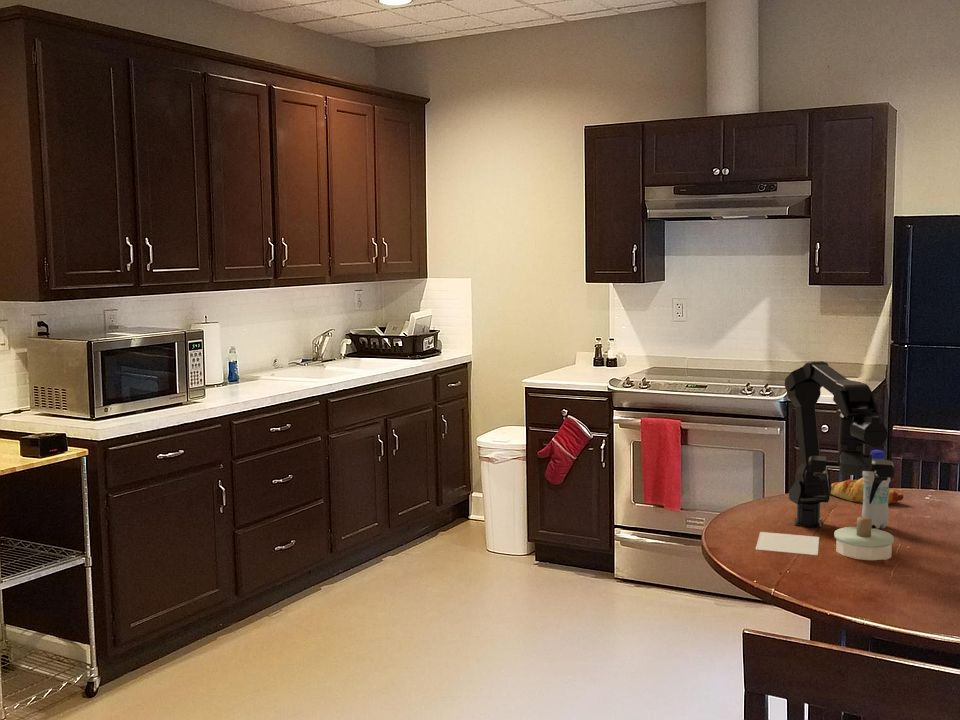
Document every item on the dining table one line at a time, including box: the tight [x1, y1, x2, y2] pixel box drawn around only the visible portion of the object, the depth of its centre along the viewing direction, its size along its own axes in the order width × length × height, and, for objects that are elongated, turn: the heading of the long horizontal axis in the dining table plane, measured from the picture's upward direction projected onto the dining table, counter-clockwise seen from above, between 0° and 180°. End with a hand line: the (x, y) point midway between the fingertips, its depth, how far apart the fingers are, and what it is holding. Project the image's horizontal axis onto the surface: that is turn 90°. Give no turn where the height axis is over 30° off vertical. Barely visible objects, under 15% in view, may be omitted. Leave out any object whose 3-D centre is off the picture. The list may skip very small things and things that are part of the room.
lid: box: [834, 516, 895, 547], centre depth 229 cm, size 13×13×5 cm
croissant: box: [830, 477, 904, 505], centre depth 274 cm, size 21×10×8 cm, turn 53°
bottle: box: [861, 449, 891, 530], centre depth 248 cm, size 7×7×20 cm
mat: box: [755, 531, 820, 556], centre depth 237 cm, size 14×14×1 cm
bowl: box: [835, 539, 893, 561], centre depth 230 cm, size 12×12×4 cm
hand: (849, 501), depth 231 cm, fingers open, 9 cm apart
